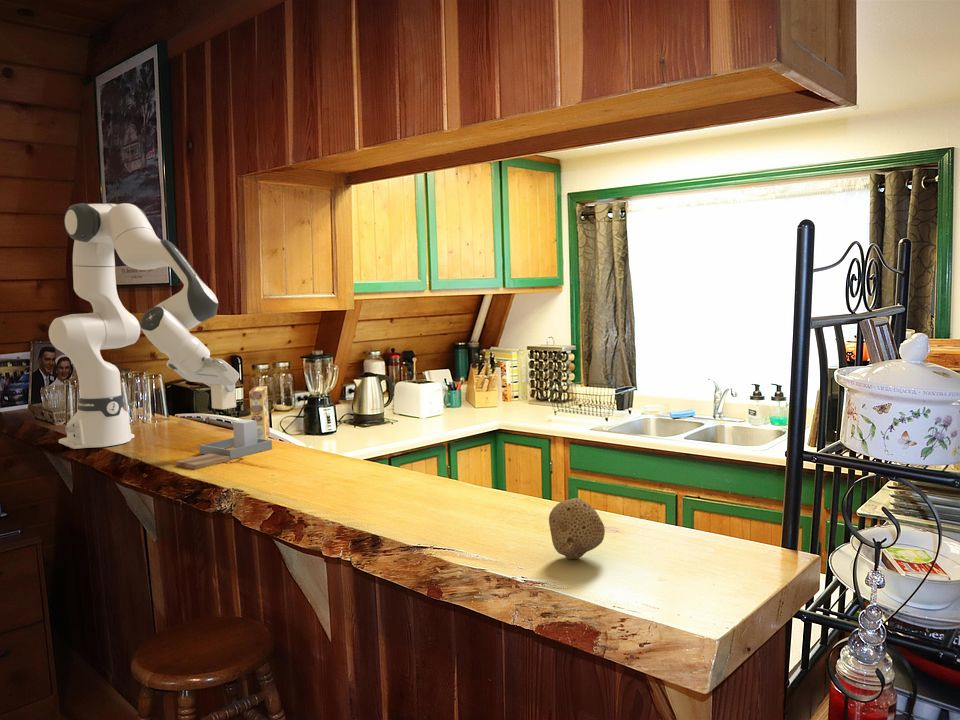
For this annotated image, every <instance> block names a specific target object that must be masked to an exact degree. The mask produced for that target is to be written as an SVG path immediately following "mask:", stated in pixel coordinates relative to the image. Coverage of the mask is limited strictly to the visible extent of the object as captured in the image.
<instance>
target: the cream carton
mask: <svg viewBox="0 0 960 720" xmlns="http://www.w3.org/2000/svg"><path fill="white" fill-rule="evenodd" d="M233 386H234V387H235V389H234V391H233V392H228V391H227V390H226V389H225V386H223V385H220V384H211V387H210V396H211V397H210V398H211V399H210V400H211V409H217V410H227V409H228V410H229V409H232V408H233V409H234V408H237V397H236V383H235V384H234V385H233Z"/></svg>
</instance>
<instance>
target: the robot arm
mask: <svg viewBox="0 0 960 720" xmlns="http://www.w3.org/2000/svg"><path fill="white" fill-rule="evenodd" d="M63 220H64V222H63V223H64V227H65V228H64V229H65V231H66V233H67V234H68V236H69V237H70V238H71V239H72V240H73V241H74V242H73V247H72V249H73V250H72V278H73V279H72V280H73V281H72V282H73V290H74V292H75V294H76V296H78V297H79V298H80V299H82V300H85V301H87V302H89V303H90V305H91V307H92V310H93V311H92V312H88V313H86V312H85V313H72V314H71V313H70V314H68V315H63V316H59V317H56V318H54V319H53V320H52V322H51V324H50V325H49V329H48V337H49V341H50V342H51V344H52V346H53V347H54V348H55V349H57V351H60V352H61V353H63V354H64V355H65V356H67V358H69V360H70V362H71V363H72V365H73V367H74V368H75V372H76V374H77V379H78V387H79V396H80V397H79V398H78V399H77V401H78V402H76V404H77V412H75V414H74V415H73V416H72V417H70V419H69V420H68V421H67V423H66V425H65V429H64V430H65V432H66V437H63V438H62V437H61V438H60V439H58V443H59V444H60V445H61V444H62V445H64V446H65V447H69V448H70V449H73V450H76V449H78V450H79V449H86V448H87V449H88V448H89V449H90V448H104V447H110V446H117V445H123V444H125V443H128V442H130V441H131V440H132V439H135V434H134V433H132V431H131V430H132V429H131V426H130V419H129V414H128V411H127V410H125V409H124V407H125V399H124V394H122V383H121V373H120V370H119V368H118V367H117V366H116V365H115V364H112V363H111V362H109V361H106V360H104V359H103V356H102V354H101V351H102V350H112V349H113V350H114V349H120V348H124V347H127V346H130V345H134V344H136V342H138V340H139V338H140V335H141V332H143V334H144V335H145V338H147V339H148V341H150V343H152V345H153V346H154V347H155V348H156V349H157V350H158V351H159V352H160V353H162V354H165V355H166V356H167V357H168V361H166V365H165V366H166V367H168V369H171V370H173V371H174V372H176V374H178V375H179V376H180V377H181V378H182V379H184V380H185V381H188V382H193V383H202V384H204V385H206V386H208V387H210V388H211V384H220V385H223V386H225V389H226V390H227V391H228V392H233V391H234V389H235V390H236V386H235V387H234V386H233V385H234V384H235V385H236V383H237V382H238V380H239V379H240V377H241V376H240V373H239V372H238V371H237V370H236V369H235V368H234V367H232V366H231V365H230V364H229V362H226V360H223V359H222V358H215V357H210V356H211V351H210V349H209V348H208V347H207V346H206V345H205V344H204V343H203V342H202V341H201V340H200V339H199V338H198V337H197V336H195V335H194V334H192V333H191V332H190V330H192V329H193V328H195V327H197V325H200V324H201V323H204V322H206V321H208V320H210V319H212V318H214V317H215V316H216V314H217V312H218V308H219V300H218V298H217V296H216V294H215V293H214V291H212V289H211V288H209V286H208V285H207V284H206V283H205V282H204V281H203V279H202V278H201V276H200V275H199V274H198V272H197V271H196V270H195V269H194V268H193V266H192V265H191V263H190V262H189V261H188V259H187V258H186V257H185V255H183V253H182V252H181V251H180V249H178V247H177V246H176V245H175V244H173V243H172V242H171V241H169V240H168V239H160V238H159V237H158V236H157V235H156V232H155V230H154V229H153V226H152V225H151V223H150V222H149V219H148V216H147V215H146V213H145V211H144V210H143V209H141V208H139V206H137V205H135V204H132V203H127V202H126V203H124V202H123V203H108V202H107V203H85V202H81V203H75V204H72V205H70V206H69V207H68V208H67V210H66V211H65V213H64V219H63ZM115 251H116V253H117V255H118V257H119V259H120V260H121V261H122V263H123V264H124V265H125V266H128V267H129V268H131V269H133V270H134V269H135V270H140V271H150V270H154V269H158V268H159V269H160V268H165V267H166V268H168V267H169V268H171V269H172V270H173V272H174V273H175V274H176V275H177V277H178V279H180V281H181V282H182V284H183V287H182V288H181V290H180V291H179V292H177V293H175V294H173V295H172V296H170V297H168V298H167V299H164V300H163V301H161V302H160V303H158V304H156V305H155V306H153V307H151V308H150V309H148V310H146V312H144V314H143V315H142V316H141V318H140V321H139V320H138V319H137V317H136V316H135V315H133V314H132V313H131V312H130V311H128V309H126V307H124V305H123V303H122V301H121V300H120V298H119V295H118V289H117V281H116V280H117V279H116V261H115V260H116V259H115Z"/></svg>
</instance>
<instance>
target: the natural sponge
mask: <svg viewBox="0 0 960 720" xmlns="http://www.w3.org/2000/svg"><path fill="white" fill-rule="evenodd" d="M548 524H549V530H550V535H551V541H552V545H553V548H554V549H555V551H556V552H557V553H558V554H559V555H561V556H564V557H565V558H567V559H569V560H577V559H579V558H582V557H583V556H584V555H585V554H586V553H587V552H590V551H592V550H594V549H596V548H597V547H599V546H600V545H601V544H602V542H603V541H604V537H605V531H606V530H605V528H606V527H605V525H604V522H603V520H602V519H601V517H600V516H599V514H598V512H597V511H596V509H595V508H594V507H593V506H592V505H591V504H590V503H589V502H587V501H585V500H584V499H581V498H576V497H573V498H570V499H566V500H562V501H560V502H558V503H557V504H556V505H555V506H554V507H553V508H552V510H551V511H550V513H549V516H548Z"/></svg>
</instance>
